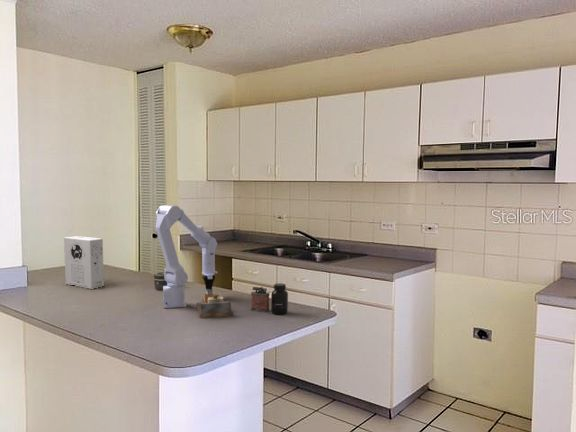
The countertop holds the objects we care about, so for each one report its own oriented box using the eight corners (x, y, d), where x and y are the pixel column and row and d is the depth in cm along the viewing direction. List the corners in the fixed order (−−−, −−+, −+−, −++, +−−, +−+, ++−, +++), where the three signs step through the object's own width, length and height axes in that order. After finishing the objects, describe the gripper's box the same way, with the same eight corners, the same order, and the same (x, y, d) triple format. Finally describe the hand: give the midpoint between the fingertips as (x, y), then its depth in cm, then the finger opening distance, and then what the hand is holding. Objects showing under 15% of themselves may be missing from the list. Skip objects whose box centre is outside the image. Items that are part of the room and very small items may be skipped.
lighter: (270, 310, 207) (270, 286, 206) (267, 312, 204) (267, 288, 203) (253, 308, 209) (252, 285, 209) (249, 310, 206) (249, 287, 205)
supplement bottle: (275, 316, 198) (275, 286, 197) (268, 312, 204) (268, 283, 203) (290, 314, 201) (290, 285, 200) (283, 310, 207) (283, 282, 206)
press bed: (199, 317, 195) (199, 304, 195) (195, 300, 224) (194, 288, 223) (232, 315, 198) (232, 302, 198) (223, 298, 227) (223, 286, 227)
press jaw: (205, 303, 212) (205, 295, 212) (202, 296, 224) (202, 289, 223) (219, 302, 213) (218, 294, 213) (216, 295, 225) (216, 288, 225)
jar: (150, 289, 244) (149, 274, 244) (162, 285, 254) (161, 271, 253) (166, 291, 241) (166, 276, 240) (178, 287, 250) (178, 272, 249)
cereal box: (104, 286, 251) (102, 238, 249) (91, 289, 245) (89, 240, 243) (78, 282, 263) (76, 235, 261) (65, 284, 256) (63, 237, 254)
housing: (208, 310, 200) (208, 296, 200) (207, 308, 204) (207, 294, 204) (223, 309, 202) (223, 296, 202) (222, 307, 206) (222, 293, 205)
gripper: (219, 264, 220) (219, 294, 221) (215, 259, 234) (215, 287, 235) (203, 265, 218) (203, 295, 219) (200, 260, 232) (201, 288, 233)
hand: (208, 291), depth 227 cm, fingers closed
